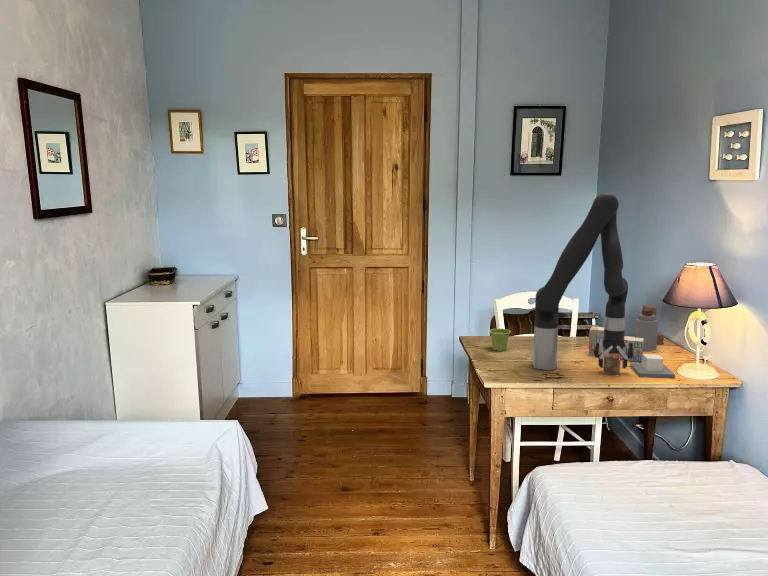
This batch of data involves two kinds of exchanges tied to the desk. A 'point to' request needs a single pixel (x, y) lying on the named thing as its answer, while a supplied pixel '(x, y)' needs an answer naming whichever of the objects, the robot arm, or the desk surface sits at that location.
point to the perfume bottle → (647, 329)
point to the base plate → (651, 373)
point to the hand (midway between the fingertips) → (612, 367)
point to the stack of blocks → (638, 343)
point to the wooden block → (659, 336)
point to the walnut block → (611, 366)
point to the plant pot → (499, 338)
